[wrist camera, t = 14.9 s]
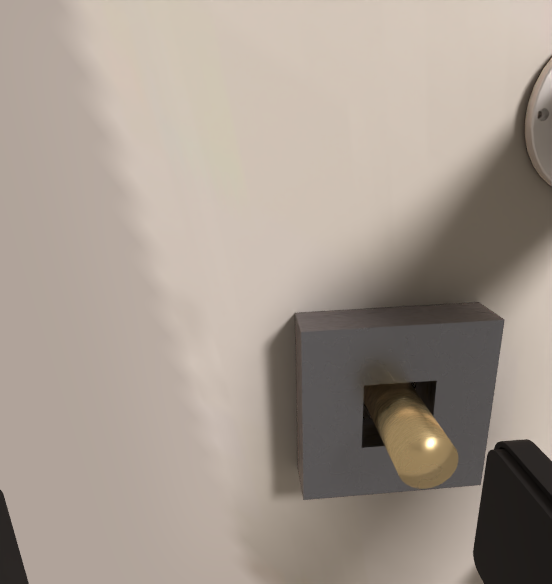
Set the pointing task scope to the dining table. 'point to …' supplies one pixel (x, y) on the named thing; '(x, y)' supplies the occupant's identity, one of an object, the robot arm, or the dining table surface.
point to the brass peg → (411, 435)
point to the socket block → (387, 370)
